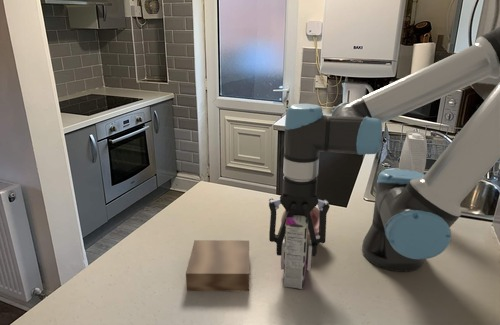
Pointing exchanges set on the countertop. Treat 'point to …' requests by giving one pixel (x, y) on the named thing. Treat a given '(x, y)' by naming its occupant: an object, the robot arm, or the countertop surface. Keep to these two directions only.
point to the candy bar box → (295, 251)
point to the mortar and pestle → (315, 221)
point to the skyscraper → (414, 152)
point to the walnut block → (218, 266)
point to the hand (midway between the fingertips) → (295, 266)
